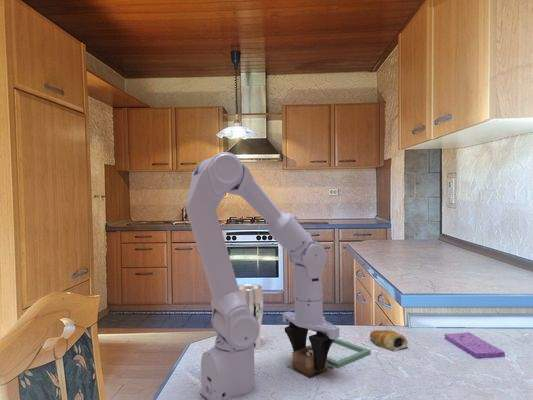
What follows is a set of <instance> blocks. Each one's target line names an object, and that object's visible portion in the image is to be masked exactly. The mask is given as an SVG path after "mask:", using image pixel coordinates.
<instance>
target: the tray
mask: <svg viewBox="0 0 533 400" xmlns="http://www.w3.org/2000/svg"><path fill="white" fill-rule="evenodd" d="M332 344H336V345H339V346H340V347H341V346H342V347H344V348H347V349H350V350H352V351H355V352H356V353H354V354H351V355H349V356H346V357H344V358H342V359H340V360H335V359H333V358H331V357H328V356H327V365H329V366H331V367H333V368H336V369H340V368H342V367H344V366H347V365H349V364H351V363H354V362H355V361H359V360H360V359H362V358H365V357H366V356H369V355H371V354H372V353H371V352H372V351H371V350H372V349H367V348H365V347H363V346H359V345H356V344H354V343H351V342H348V341H344V340H343V339H339V338H336V339H334V341H333V342H332ZM308 346H311V344H309V345H306V347H308ZM311 347H312V346H311Z"/></svg>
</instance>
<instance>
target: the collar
mask: <svg viewBox="0 0 533 400" xmlns="http://www.w3.org/2000/svg"><path fill="white" fill-rule="evenodd" d="M307 346H308V347H305V348H302V349H300V350H297V351H292V364H293V367H295V368H297V369H299V370H301V371H303V372H305V373H307V374H309V375H311V374H314V373H316V372H318V371H316V370H315V367H314V357H313V355H312V356H308V355H306V350H312V347H311V346H309V345H307ZM312 351H313V350H312ZM327 365H328V364H327V358H326V363H325V368H327ZM325 368H324V369H325ZM322 370H323V369H322ZM320 371H321V370H320Z"/></svg>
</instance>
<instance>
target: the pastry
mask: <svg viewBox="0 0 533 400" xmlns="http://www.w3.org/2000/svg"><path fill="white" fill-rule="evenodd" d="M369 338H370V339H371V341H372V342H373V343H374V344H375V345H374V346H378V348H381V349H385V350H387V351H390V352H397V351H399V350H403V349H405V348H407V346H408V340H407V338H406V337H405V336H404V334H400V333H399V332H398V333H397V332H396V331H394V330H391V329H389V330H387V329H385V330H384V329H383V330H382V329H381V330H380V329H379V330H377V329H376V330H372V331H370V334H369Z"/></svg>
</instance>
